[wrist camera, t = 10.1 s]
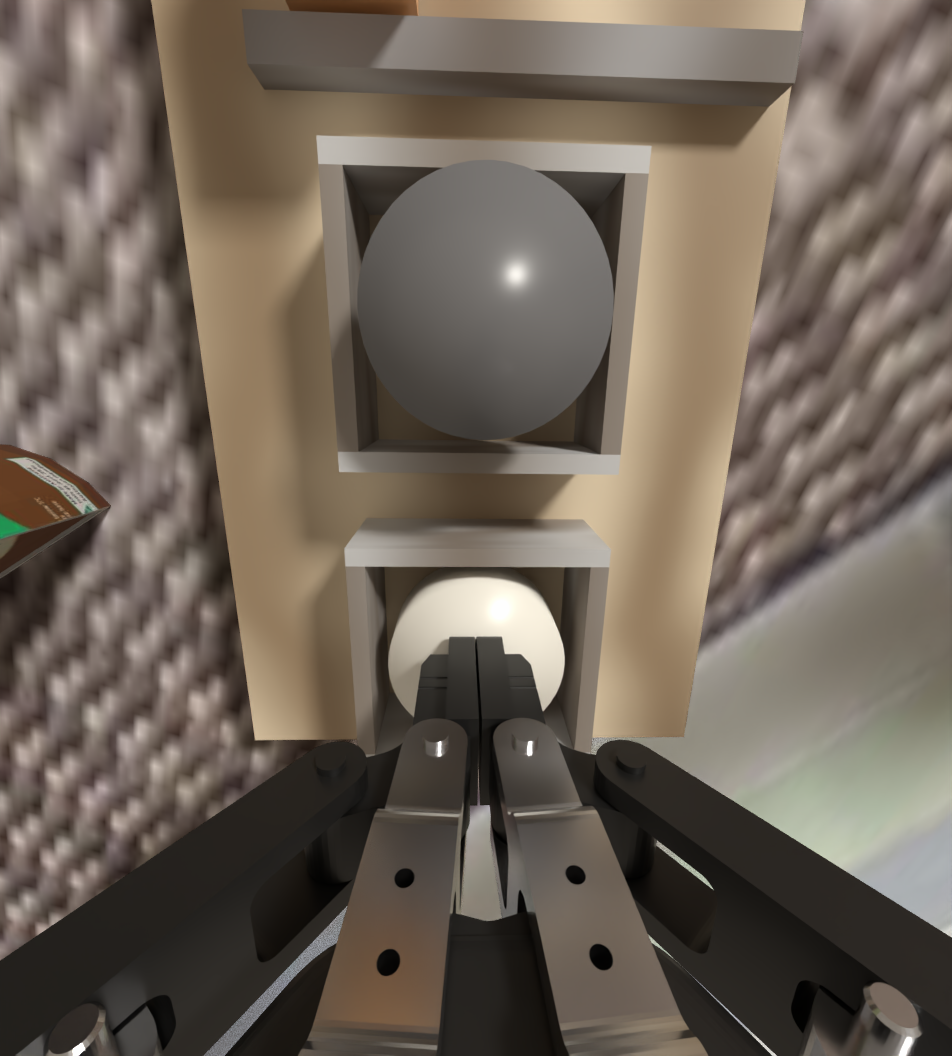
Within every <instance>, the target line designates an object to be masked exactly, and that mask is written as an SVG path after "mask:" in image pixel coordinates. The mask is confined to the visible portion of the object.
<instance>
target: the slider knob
mask: <svg viewBox="0 0 952 1056" xmlns="http://www.w3.org/2000/svg"><path fill="white" fill-rule="evenodd" d="M285 1H286V3H287V5H288V8H289V10H290V11H306V12H332V13H357V14H383V15H408V16H419V15H418V0H285Z"/></svg>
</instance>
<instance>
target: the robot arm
mask: <svg viewBox="0 0 952 1056" xmlns="http://www.w3.org/2000/svg"><path fill="white" fill-rule="evenodd" d="M478 769H479V790H480V805H490V813H491V828H490V840H491V847H492V853H493V860H494V867H495V874H496V881H497V887H498V894H499V901H500V908H501V914H502V919H498V920H495V921H483V920H479V919H475V918H471V917H468V916H464V915H461V910H462V896H463V882H464V868H465V853H466V833H467V829H468V827H469V822H470V805H477V794H478ZM657 840H658V841H659V842H660V843H662V844H663V845H664V846H665V847H667V848H668V849H669V850H671V851H672V852H673V853H675V854H676V855H677V856H678V857H680V858H681V859H682V860H684V861H685V862H686V863H688V864H689V865H690V866H691V867H693V868H694V869H695V870H697V871H698V872H699V873H700V874H702V875H703V876H704V877H705V878H706V879H707V881H708V882H709V883H710V885H711V886H712V888H713V889H714V890H712V889H711V888H710V887H709V886H707V885H706V884H705V883H703V882H702V881H701V880H700V879H698V878H697V877H696V876H695V875H693V874H692V873H691V872H689V871H688V870H687V869H686V868H684V867H683V866H682V865H680V864H679V863H678V862H677V861H675V860H674V859H673V858H671V857H670V856H669V855H668V854H666V853H665V852H664V851H663V850H661V849H660V848H659V847H657V846H656V843H657ZM347 905H348V907H347V910H346V913H345V917H344V920H343V924H342V927H341V931H340V934H339V937H338V941H337V943H336V944H334V945H333V946H331V947H329V948H328V949H326V950H325V951H324V952H322V953H321V954H320V955H318V956H317V957H316V958H314V959H313V960H312V961H311V962H310V963H309V964H308V965H307V966H305V967H304V968H303V969H302V970H301V971H300V972H299V973H298V974H297V975H296V976H295V977H294V978H293V979H292V980H291V982H290V983H289V984H288V985H287V986H286V987H285V988H284V989H283V991H282V992H281V993H280V994H279V995H278V996H277V997H276V998H275V1000H274V1001H273V1002H272V1003H271V1004H270V1005H269V1006H268V1007H267V1009H266V1010H265V1011H264V1012H263V1013H262V1014H261V1015H260V1017H259V1018H258V1019H257V1020H256V1021H255V1022H254V1023H253V1024H252V1026H251V1027H250V1028H249V1029H248V1030H247V1031H246V1032H245V1033H244V1035H243V1036H242V1037H241V1038H240V1039H239V1040H238V1041H237V1042H236V1044H235V1045H234V1046H233V1047H232V1048H231V1049H230V1050H229V1051H228V1053H227V1054H226V1055H225V1056H772V1055H771V1054H770V1053H769V1052H768V1051H767V1050H766V1049H765V1048H764V1047H763V1046H762V1045H761V1044H760V1043H759V1042H758V1041H757V1040H756V1039H755V1038H754V1037H753V1036H752V1035H751V1034H750V1033H749V1032H748V1031H747V1030H746V1029H745V1028H744V1027H743V1026H742V1025H741V1024H740V1023H739V1022H738V1021H737V1020H736V1019H735V1018H734V1017H733V1016H732V1015H731V1014H730V1013H729V1012H728V1011H727V1010H726V1009H725V1008H724V1007H723V1006H722V1005H721V1004H720V1003H719V1002H718V1001H720V1002H721V1003H722V1004H723V1005H724V1006H725V1007H726V1008H727V1009H728V1010H729V1011H730V1012H731V1013H732V1014H733V1015H734V1016H735V1017H736V1018H738V1019H739V1020H740V1021H741V1022H742V1023H743V1024H744V1025H745V1026H746V1027H747V1028H748V1029H749V1030H750V1031H751V1032H752V1033H753V1034H755V1035H756V1036H757V1037H758V1038H759V1039H760V1040H761V1041H762V1042H763V1043H764V1044H765V1045H766V1046H767V1047H768V1048H769V1049H770V1050H771V1051H773V1052H774V1053H775V1054H776V1055H777V1056H952V938H951V937H950V936H948V935H947V934H945V933H943V932H942V931H940V930H939V929H937V928H935V927H934V926H932V925H931V924H929V923H927V922H926V921H924V920H923V919H921V918H919V917H918V916H916V915H915V914H913V913H911V912H910V911H908V910H907V909H905V908H903V907H902V906H900V905H899V904H897V903H895V902H894V901H892V900H891V899H889V898H887V897H886V896H884V895H883V894H881V893H879V892H878V891H876V890H875V889H873V888H871V887H870V886H868V885H867V884H865V883H863V882H862V881H860V880H859V879H857V878H855V877H854V876H852V875H851V874H849V873H847V872H846V871H844V870H843V869H841V868H839V867H838V866H836V865H835V864H833V863H831V862H830V861H828V860H827V859H825V858H823V857H822V856H820V855H819V854H817V853H815V852H814V851H812V850H811V849H809V848H807V847H806V846H804V845H803V844H801V843H799V842H798V841H796V840H795V839H793V838H791V837H790V836H788V835H787V834H785V833H783V832H782V831H780V830H779V829H777V828H775V827H774V826H772V825H771V824H769V823H767V822H766V821H764V820H763V819H761V818H759V817H758V816H756V815H755V814H753V813H751V812H750V811H748V810H747V809H745V808H743V807H742V806H740V805H739V804H737V803H735V802H734V801H732V800H731V799H729V798H727V797H726V796H724V795H723V794H721V793H719V792H718V791H716V790H715V789H713V788H711V787H710V786H708V785H707V784H705V783H703V782H702V781H700V780H699V779H697V778H695V777H694V776H692V775H691V774H689V773H687V772H686V771H684V770H683V769H681V768H679V767H678V766H676V765H675V764H673V763H671V762H670V761H668V760H667V759H665V758H663V757H662V756H660V755H659V754H657V753H655V752H654V751H652V750H651V749H649V748H647V747H645V746H643V745H641V744H639V743H636V742H632V741H627V740H614V741H610V742H607V743H605V744H603V745H602V746H601V747H600V748H599V749H598V751H597V754H596V755H593V754H588V753H584V752H580V751H577V750H573V749H571V748H568V747H566V746H564V745H562V744H561V743H560V742H558V741H557V738H556V736H555V734H554V732H553V731H552V730H551V729H550V728H549V727H548V726H547V725H546V723H545V719H544V715H543V711H542V707H541V703H540V699H539V695H538V691H537V689H536V683H535V679H534V675H533V671H532V667H531V664H530V663H529V662H528V661H527V660H526V659H525V658H524V657H523V656H522V655H521V654H505V652H504V646H503V640H502V636H477V637H476V655H475V637H449V652H448V654H430V655H429V656H428V658H427V659H426V660H425V661H424V662H423V663H422V665H421V670H420V679H419V684H418V691H417V698H416V705H415V712H414V719H413V726H412V727H411V728H410V729H409V730H408V731H407V733H406V734H405V737H404V739H403V743H402V744H400V745H399V746H398V747H396V748H394V749H392V750H390V751H388V752H385V753H381V754H378V755H374V756H370V757H366V755H365V752H364V751H363V750H362V749H361V748H360V747H359V746H357V745H355V744H352V743H349V742H331V743H327V744H324V745H321V746H319V747H316V748H315V749H313V750H311V751H310V752H308V753H307V754H305V755H304V756H302V757H301V758H299V759H298V760H296V761H295V762H293V763H292V764H290V765H289V766H287V767H286V768H285V769H283V770H282V771H280V772H279V773H277V774H276V775H274V776H273V777H271V778H270V779H268V780H267V781H265V782H264V783H262V784H261V785H259V786H258V787H256V788H255V789H253V790H252V791H251V792H249V793H248V794H246V795H245V796H243V797H242V798H240V799H239V800H237V801H236V802H234V803H233V804H231V805H230V806H228V807H227V808H225V809H224V810H222V811H221V812H219V813H218V814H216V815H215V816H214V817H212V818H211V819H209V820H208V821H206V822H205V823H203V824H202V825H200V826H199V827H197V828H196V829H194V830H193V831H191V832H190V833H188V834H187V835H185V836H184V837H182V838H181V839H180V840H178V841H177V842H175V843H174V844H172V845H171V846H169V847H168V848H166V849H165V850H163V851H162V852H160V853H159V854H157V855H156V856H154V857H153V858H151V859H150V860H148V861H147V862H146V863H144V864H143V865H141V866H140V867H138V868H137V869H135V870H134V871H132V872H131V873H129V874H128V875H126V876H125V877H123V878H122V879H120V880H119V881H117V882H116V883H114V884H113V885H112V886H110V887H109V888H107V889H106V890H104V891H103V892H101V893H100V894H98V895H97V896H95V897H94V898H92V899H91V900H89V901H88V902H86V903H85V904H83V905H82V906H80V907H79V908H78V909H76V910H75V911H73V912H72V913H70V914H69V915H67V916H66V917H64V918H63V919H61V920H60V921H58V922H57V923H55V924H54V925H52V926H51V927H49V928H48V929H46V930H45V931H44V932H42V933H41V934H39V935H38V936H36V937H35V938H33V939H32V940H30V941H29V942H27V943H26V944H24V945H23V946H21V947H20V948H18V949H17V950H15V951H14V952H12V953H11V954H10V955H8V956H7V957H5V958H4V959H2V960H1V961H0V1056H203V1055H204V1054H205V1053H206V1052H207V1051H208V1050H209V1049H210V1048H211V1047H212V1046H213V1045H214V1044H215V1043H216V1042H217V1041H218V1040H219V1039H220V1038H221V1037H222V1036H223V1035H224V1034H225V1033H226V1031H227V1030H228V1029H229V1028H230V1027H231V1026H232V1025H233V1024H234V1023H235V1022H236V1021H237V1020H238V1019H239V1018H240V1017H241V1016H242V1015H243V1014H244V1013H245V1012H246V1011H247V1010H248V1009H249V1008H250V1006H251V1005H252V1004H253V1003H254V1002H255V1001H256V1000H257V999H258V998H259V997H260V996H261V995H262V994H263V993H264V992H265V991H266V990H267V989H268V988H269V987H270V986H271V985H272V984H273V983H274V981H275V980H276V979H277V978H278V977H279V976H280V975H281V974H282V973H283V972H284V971H285V970H286V969H287V968H288V967H289V966H290V965H291V964H292V963H293V962H294V961H295V960H296V959H297V958H298V956H299V955H300V954H301V953H302V952H303V951H304V950H305V949H306V948H307V947H308V946H309V945H310V944H311V943H312V942H313V941H314V940H315V939H316V938H317V937H318V936H319V935H320V934H321V933H322V931H323V930H324V929H325V928H326V927H327V926H328V925H329V924H330V923H331V922H332V921H333V920H334V919H335V918H336V917H337V916H338V915H339V914H340V913H341V912H342V911H343V910H344V909H345V908H346V906H347ZM648 935H650V936H651V937H652V938H653V939H654V940H655V941H656V942H657V943H658V944H659V945H660V946H661V947H662V948H663V949H664V950H665V951H667V952H668V953H669V954H670V955H671V956H672V957H673V958H674V959H675V960H676V961H675V960H674V959H673V958H672V957H670V956H669V955H668V954H667V953H665V952H664V951H663V950H661V949H660V948H658V947H657V946H655V945H654V944H652V943H651V941H650V938H649V936H648ZM684 968H685V969H686V970H687V971H688V972H689V973H690V974H691V975H692V976H693V977H694V978H695V979H696V980H697V981H698V982H699V983H700V984H701V985H703V986H704V987H705V988H706V989H707V990H708V991H709V992H710V993H711V994H712V995H713V996H714V997H715V998H716V999H717V1000H718V1001H717V1000H716V999H715V998H714V997H712V996H711V995H710V994H709V993H708V992H707V991H706V990H705V989H704V988H703V987H702V986H701V985H700V984H699V983H698V982H697V981H696V980H695V979H694V978H693V977H692V976H691V975H690V974H689V973H688V972H687V971H686V970H685V969H684Z"/></svg>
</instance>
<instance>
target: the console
mask: <svg viewBox="0 0 952 1056" xmlns="http://www.w3.org/2000/svg"><path fill="white" fill-rule="evenodd" d="M151 2H152V9H153V17H154V24H155V31H156V38H157V45H158V52H159V59H160V66H161V73H162V81H163V88H164V95H165V102H166V109H167V116H168V123H169V130H170V138H171V145H172V152H173V159H174V166H175V173H176V180H177V187H178V194H179V202H180V209H181V216H182V223H183V230H184V237H185V244H186V251H187V258H188V266H189V273H190V280H191V287H192V294H193V301H194V308H195V315H196V322H197V330H198V337H199V344H200V351H201V358H202V365H203V372H204V379H205V386H206V394H207V401H208V408H209V415H210V422H211V429H212V436H213V443H214V451H215V458H216V465H217V472H218V479H219V486H220V493H221V500H222V507H223V515H224V522H225V529H226V536H227V543H228V550H229V557H230V564H231V571H232V579H233V586H234V593H235V600H236V607H237V614H238V621H239V628H240V635H241V643H242V650H243V657H244V664H245V671H246V678H247V685H248V692H249V699H250V707H251V714H252V721H253V728H254V735H255V740H332V739H357V744H358V746H359V747H360V748H361V749H362V750H363V751H364V752H365V755H366V757H370V756H374V755H378V754H381V753H385V752H388V751H390V750H392V749H394V748H396V747H398V746H399V745H400V744H402V743H403V739H404V737H405V734H406V733H407V731H408V730H409V729H410V728H411V727H412V726H413V719H414V717H413V716H412V715H411V714H410V713H409V712H408V711H407V710H406V709H405V708H404V706H403V705H402V704H401V702H400V701H399V699H398V697H397V696H396V694H395V691H394V689H393V687H392V684H391V680H390V676H389V669H388V656H389V650H390V645H391V642H392V638H393V634H394V631H395V627H396V624H397V620H398V616H399V613H400V610H401V607H402V605H403V603H404V601H405V599H406V598H407V596H408V595H409V593H410V592H411V591H412V589H413V588H414V587H415V586H416V585H417V584H418V583H419V582H420V581H421V580H423V579H424V578H425V577H426V576H428V575H429V574H431V573H433V572H434V571H436V570H438V569H440V568H443V567H509V568H511V569H514V570H516V571H517V572H519V573H521V574H522V575H524V576H525V577H526V578H528V579H529V580H530V581H531V582H532V583H533V584H534V585H535V586H536V587H537V588H538V589H539V591H540V592H541V594H542V595H543V597H544V598H545V600H546V602H547V604H548V606H549V609H550V611H551V614H552V616H553V619H554V621H555V624H556V626H557V629H558V632H559V634H560V637H561V640H562V643H563V648H564V655H565V665H564V672H563V677H562V680H561V684H560V686H559V688H558V691H557V693H556V695H555V696H554V698H553V699H552V701H551V703H550V704H549V705H548V706H547V707H546V709H545V710H544V711H543V715H544V719H545V723H546V725H547V726H548V727H549V728H550V729H551V730H552V731H553V732H554V734H555V736H556V738H557V741H558V742H560V743H561V744H562V745H564V746H566V747H568V748H571V749H573V750H577V751H580V752H584V753H588V754H591V745H592V737H684V732H685V726H686V720H687V714H688V708H689V702H690V696H691V690H692V684H693V678H694V672H695V666H696V660H697V653H698V647H699V641H700V635H701V629H702V623H703V617H704V611H705V605H706V599H707V593H708V587H709V581H710V575H711V569H712V563H713V557H714V551H715V545H716V539H717V533H718V527H719V520H720V514H721V508H722V502H723V496H724V490H725V484H726V478H727V472H728V466H729V460H730V454H731V448H732V442H733V436H734V430H735V424H736V418H737V412H738V406H739V400H740V393H741V387H742V381H743V375H744V369H745V363H746V357H747V351H748V345H749V339H750V333H751V327H752V321H753V315H754V309H755V303H756V297H757V291H758V285H759V279H760V273H761V266H762V260H763V254H764V248H765V242H766V236H767V230H768V224H769V218H770V212H771V206H772V200H773V194H774V188H775V182H776V176H777V170H778V164H779V158H780V152H781V146H782V140H783V133H784V127H785V121H786V115H787V109H788V103H789V97H790V91H791V86H792V85H793V84H794V83H795V79H796V73H797V67H798V61H799V55H800V49H801V43H802V37H803V31H801V25H802V19H803V13H804V6H805V0H418V15H419V16H408V15H383V14H357V13H332V12H306V11H290V10H289V8H288V5H287V3H286V1H285V0H151ZM472 160H497V161H506V162H511V163H514V164H518V165H522V166H525V167H528V168H530V169H532V170H534V171H537V172H539V173H541V174H543V175H545V176H546V177H548V178H549V179H551V180H553V181H554V182H556V183H557V184H558V185H560V186H561V187H562V188H563V189H564V190H566V191H567V192H568V193H569V194H570V195H571V196H572V197H573V198H574V199H575V200H576V201H577V202H578V204H579V205H580V206H581V207H582V208H583V209H584V211H585V212H586V214H587V215H588V217H589V218H590V220H591V221H592V222H593V224H594V226H595V228H596V230H597V232H598V234H599V236H600V238H601V240H602V242H603V245H604V248H605V251H606V254H607V257H608V260H609V265H610V269H611V274H612V281H613V292H614V305H613V318H612V325H611V331H610V335H609V339H608V342H607V346H606V349H605V352H604V354H603V357H602V359H601V362H600V364H599V366H598V368H597V370H596V371H595V373H594V375H593V377H592V379H591V380H590V382H589V383H588V384H587V386H586V387H585V389H584V390H583V391H582V393H581V394H580V395H579V396H578V397H577V398H576V399H575V400H574V402H573V403H572V404H571V405H570V406H569V407H567V408H566V409H565V410H564V411H563V412H562V413H560V414H559V415H558V416H557V417H555V418H554V419H552V420H550V421H549V422H547V423H546V424H544V425H542V426H540V427H538V428H536V429H534V430H532V431H530V432H527V433H524V434H521V435H518V436H515V437H509V438H504V439H497V440H475V439H466V438H461V437H457V436H452V435H450V434H447V433H444V432H441V431H438V430H436V429H434V428H432V427H431V426H429V425H427V424H425V423H423V422H422V421H420V420H419V419H417V418H416V417H414V416H413V415H411V414H410V413H409V412H408V411H407V410H406V409H404V408H403V407H402V406H401V405H400V404H399V403H398V402H397V401H396V400H395V399H394V398H393V396H392V395H391V394H390V393H389V392H388V391H387V389H386V388H385V386H384V385H383V383H382V382H381V380H380V379H379V377H378V376H377V374H376V372H375V370H374V368H373V366H372V364H371V362H370V360H369V357H368V355H367V352H366V349H365V347H364V344H363V340H362V335H361V331H360V327H359V319H358V310H357V289H358V282H359V274H360V269H361V265H362V261H363V257H364V253H365V251H366V248H367V246H368V243H369V241H370V238H371V236H372V234H373V232H374V230H375V228H376V227H377V225H378V223H379V221H380V219H381V218H382V217H383V215H384V214H385V213H386V211H387V210H388V209H389V207H390V206H391V205H392V203H393V202H394V201H395V200H396V199H397V198H398V197H399V196H400V195H401V194H402V193H403V192H404V191H405V190H407V189H408V188H409V187H411V186H412V185H413V184H415V183H416V182H417V181H418V180H420V179H422V178H423V177H425V176H427V175H429V174H431V173H432V172H434V171H436V170H439V169H441V168H444V167H447V166H450V165H452V164H456V163H461V162H466V161H472Z"/></svg>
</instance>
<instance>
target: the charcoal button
mask: <svg viewBox="0 0 952 1056" xmlns="http://www.w3.org/2000/svg"><path fill="white" fill-rule="evenodd" d="M613 305H614V292H613V281H612V274H611V269H610V265H609V260H608V257H607V254H606V251H605V248H604V245H603V242H602V240H601V238H600V236H599V234H598V232H597V230H596V228H595V226H594V224H593V222H592V221H591V220H590V218H589V217H588V215H587V214H586V212H585V211H584V209H583V208H582V207H581V206H580V205H579V204H578V202H577V201H576V200H575V199H574V198H573V197H572V196H571V195H570V194H569V193H568V192H567V191H566V190H564V189H563V188H562V187H561V186H560V185H558V184H557V183H556V182H554V181H553V180H551V179H549V178H548V177H546V176H545V175H543V174H541V173H539V172H537V171H534V170H532V169H530V168H528V167H525V166H522V165H518V164H514V163H511V162H506V161H497V160H472V161H466V162H461V163H456V164H452V165H450V166H447V167H444V168H441V169H439V170H436V171H434V172H432V173H431V174H429V175H427V176H425V177H423V178H422V179H420V180H418V181H417V182H416V183H415V184H413V185H412V186H411V187H409V188H408V189H407V190H405V191H404V192H403V193H402V194H401V195H400V196H399V197H398V198H397V199H396V200H395V201H394V202H393V203H392V205H391V206H390V207H389V209H388V210H387V211H386V213H385V214H384V215H383V217H382V218H381V219H380V221H379V223H378V225H377V227H376V228H375V230H374V232H373V234H372V236H371V238H370V241H369V243H368V246H367V248H366V251H365V253H364V257H363V261H362V265H361V269H360V274H359V282H358V289H357V310H358V319H359V327H360V331H361V335H362V340H363V344H364V347H365V349H366V352H367V355H368V357H369V360H370V362H371V364H372V366H373V368H374V370H375V372H376V374H377V376H378V377H379V379H380V380H381V382H382V383H383V385H384V386H385V388H386V389H387V391H388V392H389V393H390V394H391V395H392V396H393V398H394V399H395V400H396V401H397V402H398V403H399V404H400V405H401V406H402V407H403V408H404V409H406V410H407V411H408V412H409V413H410V414H411V415H413V416H414V417H416V418H417V419H419V420H420V421H422V422H423V423H425V424H427V425H429V426H431V427H432V428H434V429H436V430H438V431H441V432H444V433H447V434H450V435H452V436H457V437H461V438H466V439H475V440H497V439H504V438H509V437H515V436H518V435H521V434H524V433H527V432H530V431H532V430H534V429H536V428H538V427H540V426H542V425H544V424H546V423H547V422H549V421H550V420H552V419H554V418H555V417H557V416H558V415H559V414H560V413H562V412H563V411H564V410H565V409H566V408H567V407H569V406H570V405H571V404H572V403H573V402H574V400H575V399H576V398H577V397H578V396H579V395H580V394H581V393H582V391H583V390H584V389H585V387H586V386H587V384H588V383H589V382H590V380H591V379H592V377H593V375H594V373H595V371H596V370H597V368H598V366H599V364H600V362H601V359H602V357H603V354H604V352H605V349H606V346H607V342H608V339H609V335H610V331H611V325H612V318H613Z"/></svg>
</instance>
